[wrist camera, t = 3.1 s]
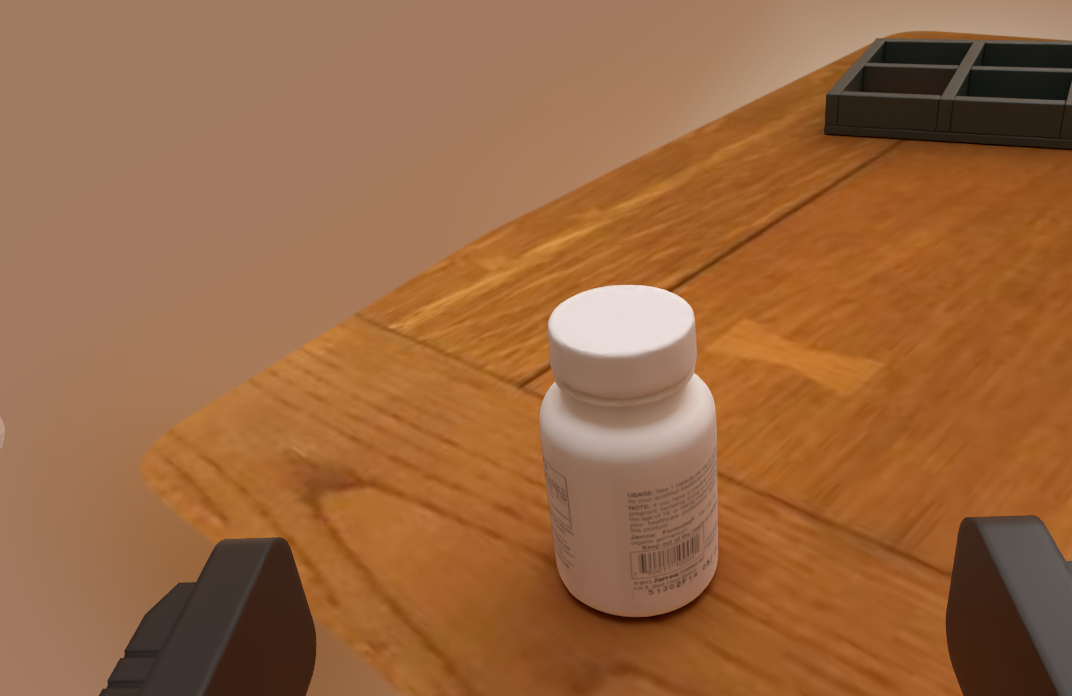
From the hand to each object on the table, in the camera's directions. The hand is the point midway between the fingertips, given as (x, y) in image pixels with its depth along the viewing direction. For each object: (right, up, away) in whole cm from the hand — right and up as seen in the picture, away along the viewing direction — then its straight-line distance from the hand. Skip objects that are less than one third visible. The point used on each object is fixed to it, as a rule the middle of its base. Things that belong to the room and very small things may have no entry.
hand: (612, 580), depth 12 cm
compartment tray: (+24, +17, +44) cm, 53 cm away
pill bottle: (+2, -3, +15) cm, 15 cm away
